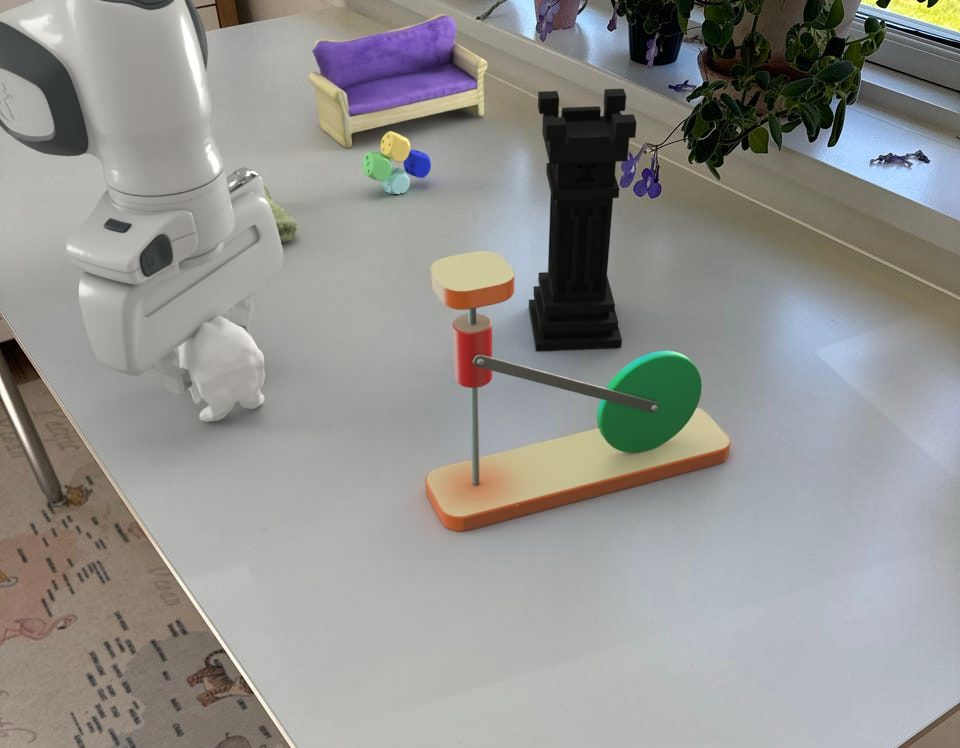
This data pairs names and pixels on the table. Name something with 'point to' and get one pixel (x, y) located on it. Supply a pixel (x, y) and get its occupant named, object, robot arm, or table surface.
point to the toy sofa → (395, 78)
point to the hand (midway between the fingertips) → (210, 366)
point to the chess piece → (580, 223)
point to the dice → (398, 151)
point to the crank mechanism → (574, 458)
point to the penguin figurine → (223, 368)
